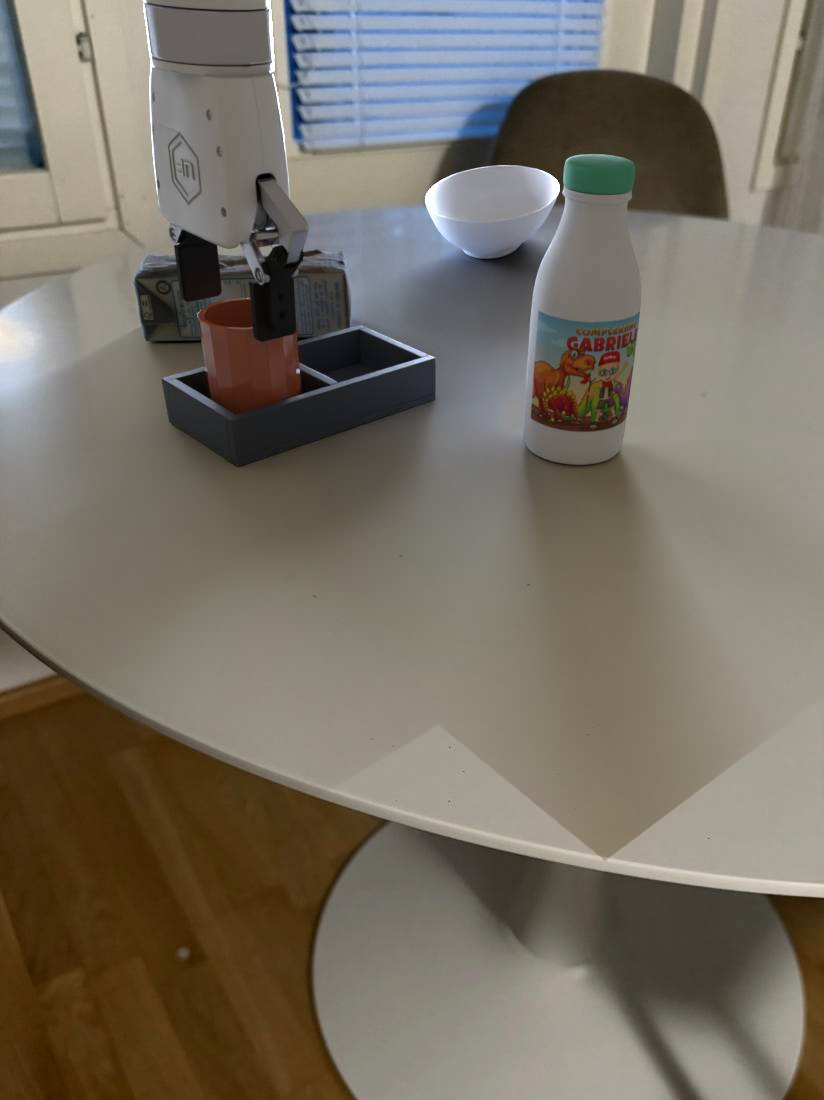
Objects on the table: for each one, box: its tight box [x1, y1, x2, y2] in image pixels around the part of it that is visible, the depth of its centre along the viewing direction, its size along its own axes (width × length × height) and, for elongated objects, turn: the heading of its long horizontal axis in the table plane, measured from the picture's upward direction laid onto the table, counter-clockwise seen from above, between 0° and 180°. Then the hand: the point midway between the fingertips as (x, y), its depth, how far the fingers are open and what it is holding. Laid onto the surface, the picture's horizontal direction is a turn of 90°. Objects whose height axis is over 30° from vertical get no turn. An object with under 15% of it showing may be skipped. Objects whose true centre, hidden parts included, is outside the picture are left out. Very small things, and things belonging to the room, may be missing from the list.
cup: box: [197, 298, 302, 414], centre depth 71 cm, size 7×7×8 cm
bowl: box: [424, 164, 560, 260], centre depth 116 cm, size 30×15×6 cm, turn 167°
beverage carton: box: [132, 248, 353, 342], centre depth 89 cm, size 8×19×7 cm, turn 98°
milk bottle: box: [522, 153, 642, 466], centre depth 67 cm, size 8×8×20 cm
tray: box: [161, 324, 437, 467], centre depth 76 cm, size 10×19×4 cm, turn 133°
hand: (237, 316), depth 69 cm, fingers open, 9 cm apart
